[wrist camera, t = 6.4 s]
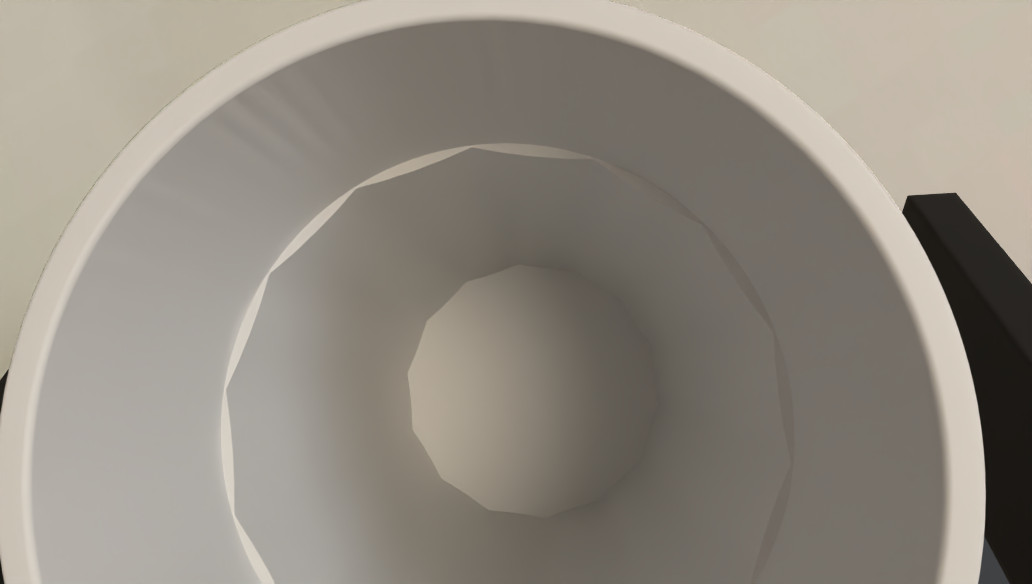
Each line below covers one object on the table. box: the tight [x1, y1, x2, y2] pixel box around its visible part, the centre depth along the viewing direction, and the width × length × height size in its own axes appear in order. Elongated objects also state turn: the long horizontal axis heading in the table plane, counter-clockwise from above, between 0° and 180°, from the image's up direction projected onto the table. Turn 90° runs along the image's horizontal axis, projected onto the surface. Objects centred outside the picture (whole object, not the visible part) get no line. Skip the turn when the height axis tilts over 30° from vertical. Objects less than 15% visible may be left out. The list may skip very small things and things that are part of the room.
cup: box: [0, 0, 986, 584], centre depth 12 cm, size 8×8×12 cm
